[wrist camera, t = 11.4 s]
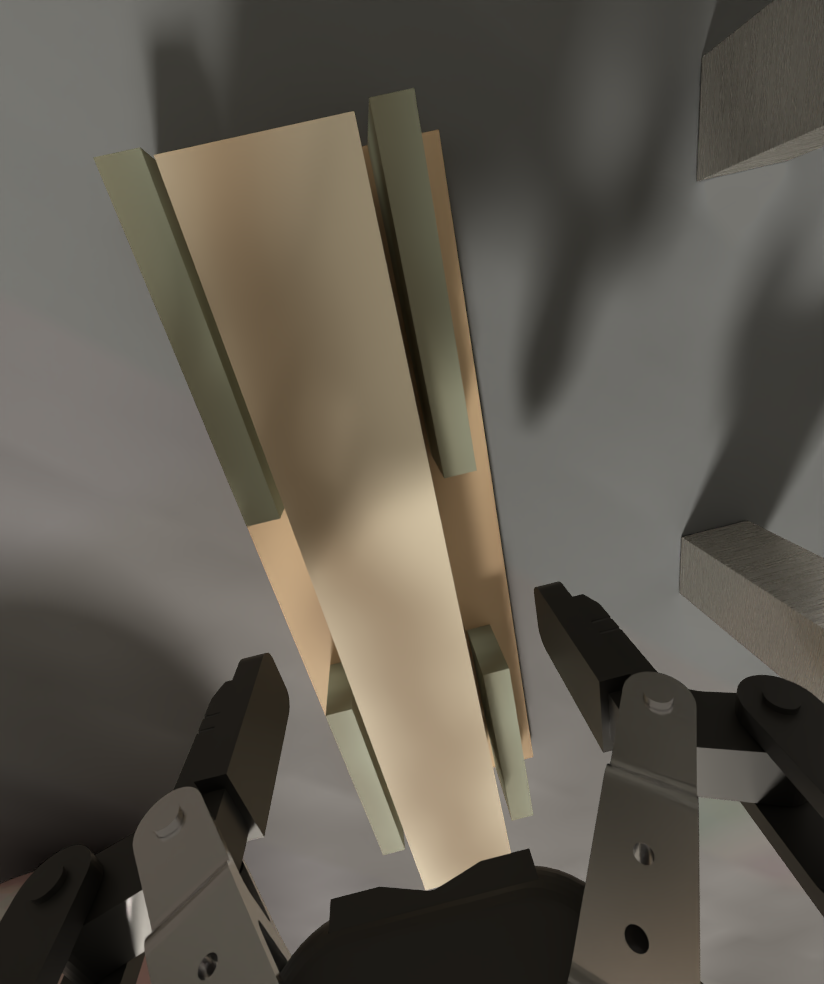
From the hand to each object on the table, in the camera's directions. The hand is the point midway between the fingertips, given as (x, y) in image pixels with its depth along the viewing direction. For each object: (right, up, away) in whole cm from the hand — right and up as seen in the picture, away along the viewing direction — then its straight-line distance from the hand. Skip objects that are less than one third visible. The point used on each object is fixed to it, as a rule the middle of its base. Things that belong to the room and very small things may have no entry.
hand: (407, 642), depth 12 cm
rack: (-1, +2, +4) cm, 5 cm away
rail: (-1, +2, +4) cm, 4 cm away
